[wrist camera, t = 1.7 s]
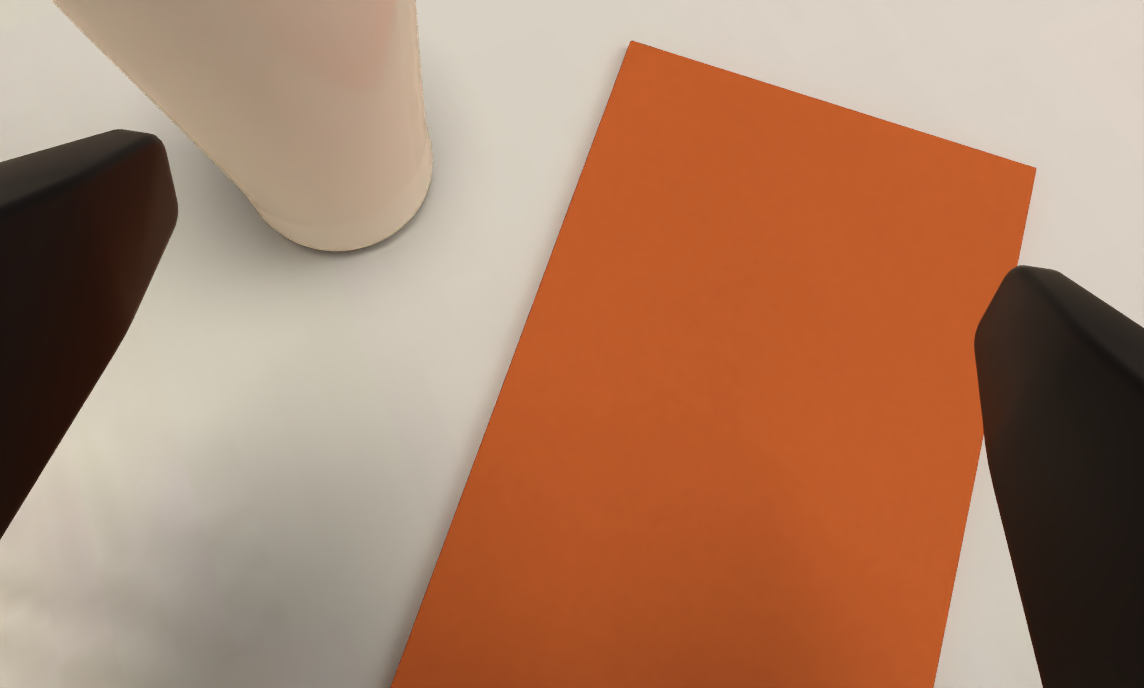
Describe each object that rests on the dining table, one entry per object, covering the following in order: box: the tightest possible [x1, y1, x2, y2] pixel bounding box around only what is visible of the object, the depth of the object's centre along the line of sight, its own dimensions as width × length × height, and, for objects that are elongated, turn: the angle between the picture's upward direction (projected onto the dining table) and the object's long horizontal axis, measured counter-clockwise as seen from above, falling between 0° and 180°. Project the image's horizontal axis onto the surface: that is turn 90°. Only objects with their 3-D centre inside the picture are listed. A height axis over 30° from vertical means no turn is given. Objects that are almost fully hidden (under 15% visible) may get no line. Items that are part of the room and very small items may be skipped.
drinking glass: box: [52, 0, 433, 251], centre depth 18 cm, size 7×7×15 cm
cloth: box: [390, 41, 1036, 688], centre depth 23 cm, size 22×13×1 cm, turn 161°
